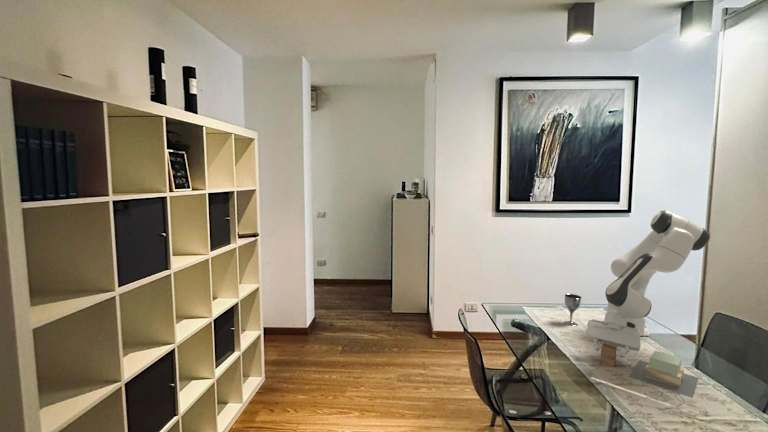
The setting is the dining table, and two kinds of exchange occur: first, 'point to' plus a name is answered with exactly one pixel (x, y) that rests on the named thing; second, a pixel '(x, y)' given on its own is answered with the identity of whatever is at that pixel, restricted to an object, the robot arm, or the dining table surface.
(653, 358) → the tower top
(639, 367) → the mat
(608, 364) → the walnut block
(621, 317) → the robot arm
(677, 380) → the tower base
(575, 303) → the wine glass
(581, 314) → the dining table surface
